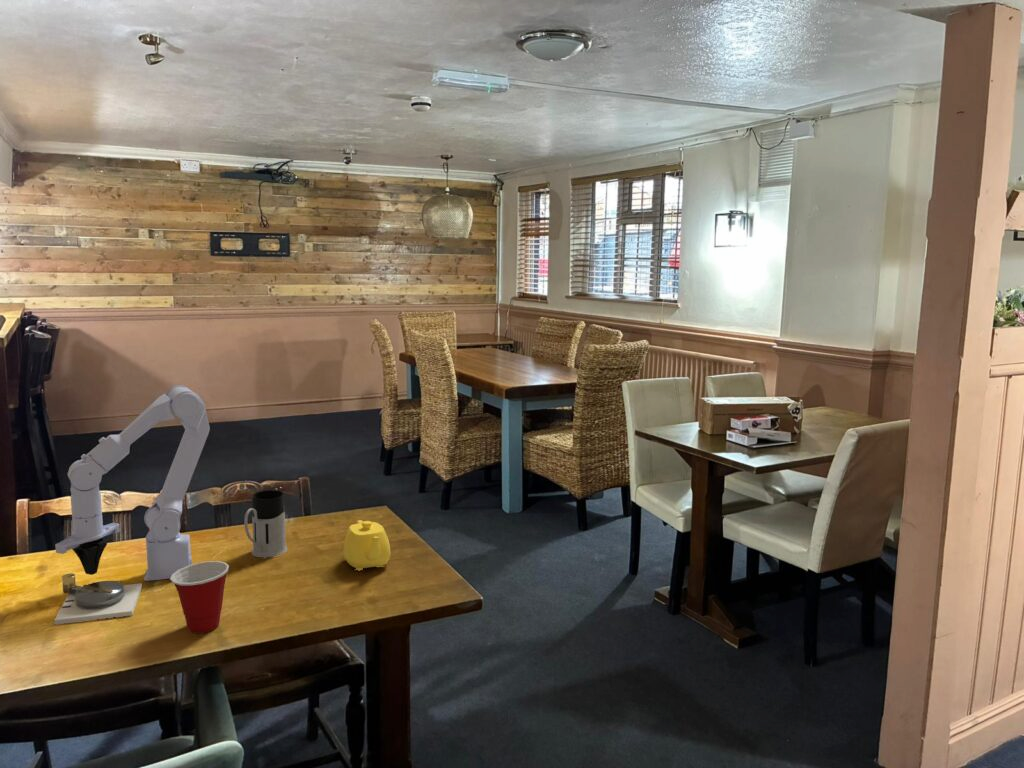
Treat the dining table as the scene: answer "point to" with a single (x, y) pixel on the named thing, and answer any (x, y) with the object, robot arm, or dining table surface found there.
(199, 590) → the plastic cup
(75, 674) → the dining table surface
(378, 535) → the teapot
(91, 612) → the white square board
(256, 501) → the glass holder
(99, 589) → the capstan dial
